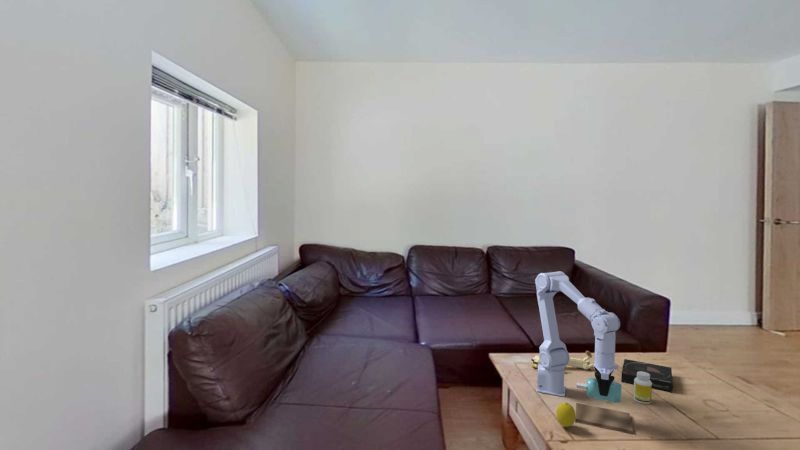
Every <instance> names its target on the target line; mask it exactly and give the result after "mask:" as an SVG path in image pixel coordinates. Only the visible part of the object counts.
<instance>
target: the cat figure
mask: <svg viewBox="0 0 800 450" xmlns="http://www.w3.org/2000/svg"><path fill="white" fill-rule="evenodd" d="M585 355H586V357H584V358H583V359H582V358H575V357H570V360H569V363H568V364H566V367H567V366H570V367H573V368H580V369H583V370H590V372H592V371H594V372H595V368H594V363H591V362H590V359H592V358H593V355H592V353H591V352H590V350H585ZM530 360H531V361H532V362H529V364H530V366H531V367H532V368H536V369H538V365H539V364H541V363H540V360H539V354H536V355H535V356H534V357H532V358H531V359H530ZM541 365H542V364H541Z"/></svg>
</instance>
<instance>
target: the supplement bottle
mask: <svg viewBox="0 0 800 450" xmlns="http://www.w3.org/2000/svg"><path fill="white" fill-rule="evenodd" d="M649 379H650V374H649V373H646V372H642V371H639V372H637V377H636V378H635V379H634V385H633V400H634V401H635V402H637V403H640V404H645V405H649V404H651V403H652V390H653V389H652V382H651V381H650V380H649Z"/></svg>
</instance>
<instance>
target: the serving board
mask: <svg viewBox="0 0 800 450" xmlns="http://www.w3.org/2000/svg"><path fill="white" fill-rule="evenodd" d="M630 414H631V413H629V412H625V411H621V410H614V409H611V408H604V407H601V406H594V405H589V404H584V403H578V402H576V404H575V422H574V423H581V424H584V425H589V426H593V427H599V428H603V429H607V430H612V431H617V432H623V433H626V434H630V435H633V434H634V433H633V431H634V430H633V426H632V420H631V415H630Z"/></svg>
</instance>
